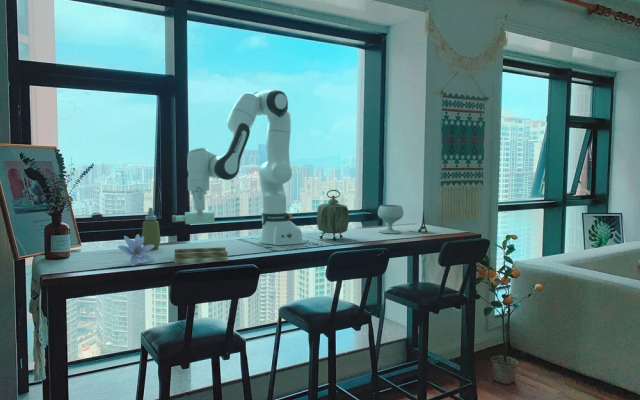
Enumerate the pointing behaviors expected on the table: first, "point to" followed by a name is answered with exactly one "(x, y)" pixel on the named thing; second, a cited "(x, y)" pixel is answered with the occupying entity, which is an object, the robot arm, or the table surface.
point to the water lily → (137, 249)
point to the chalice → (390, 216)
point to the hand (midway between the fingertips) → (199, 218)
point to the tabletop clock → (332, 217)
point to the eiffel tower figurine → (423, 228)
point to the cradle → (200, 255)
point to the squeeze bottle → (151, 230)
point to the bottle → (195, 217)
